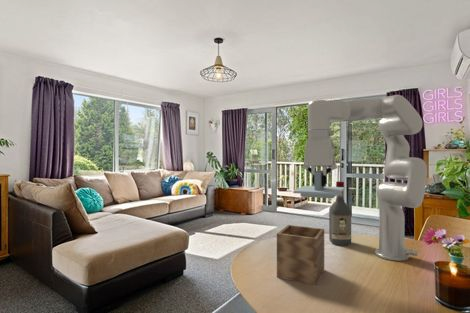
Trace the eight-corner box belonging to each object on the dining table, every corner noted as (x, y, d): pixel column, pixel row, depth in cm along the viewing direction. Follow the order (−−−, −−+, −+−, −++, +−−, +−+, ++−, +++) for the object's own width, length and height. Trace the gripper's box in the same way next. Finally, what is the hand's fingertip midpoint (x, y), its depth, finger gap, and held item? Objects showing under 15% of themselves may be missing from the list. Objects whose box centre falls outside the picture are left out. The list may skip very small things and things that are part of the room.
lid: (344, 193, 106) (344, 169, 106) (338, 199, 93) (337, 173, 93) (304, 191, 113) (304, 169, 113) (293, 197, 100) (292, 172, 100)
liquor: (328, 239, 145) (328, 180, 145) (346, 240, 144) (346, 180, 144) (332, 245, 136) (332, 182, 136) (352, 245, 135) (352, 182, 135)
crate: (324, 269, 108) (324, 229, 107) (316, 285, 95) (316, 239, 95) (288, 263, 114) (288, 224, 114) (276, 276, 102) (276, 233, 101)
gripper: (343, 134, 102) (344, 185, 103) (300, 136, 110) (300, 184, 110) (340, 133, 96) (341, 188, 96) (294, 135, 103) (295, 186, 104)
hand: (319, 185), depth 103 cm, fingers closed on lid
